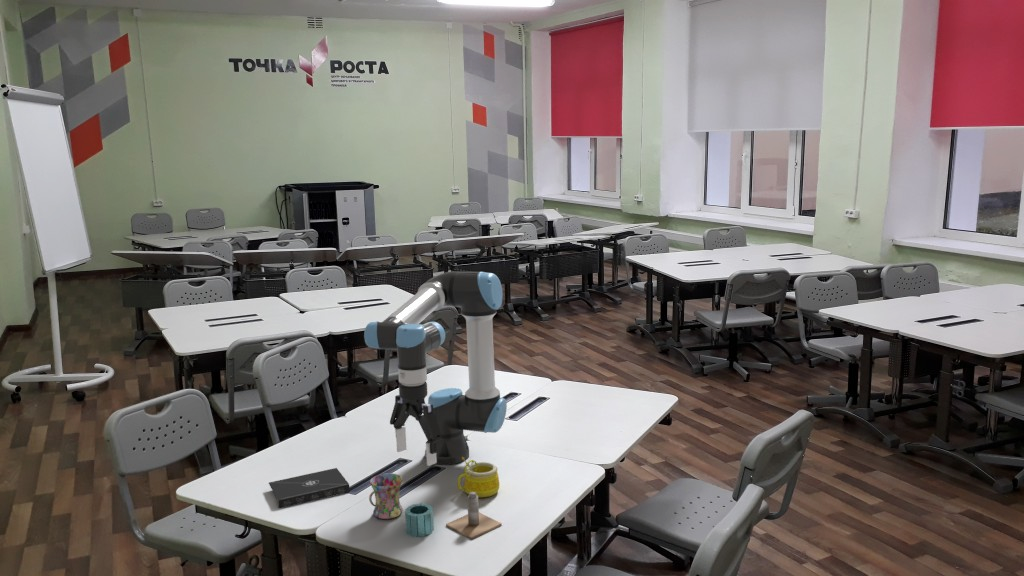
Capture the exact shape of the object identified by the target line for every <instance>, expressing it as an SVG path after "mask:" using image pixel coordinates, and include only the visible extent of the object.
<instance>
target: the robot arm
mask: <svg viewBox="0 0 1024 576" xmlns="http://www.w3.org/2000/svg"><path fill="white" fill-rule="evenodd" d="M503 294H504V293H503V287H502V283H501V280H500V279H499V277H498V276H497V275H496V274H495V273H492V272H485V271H456V270H455V271H452V270H451V271H446V272H443V273H440V274H437V275H436V276H434V277H431V278H429V279H427V281H425V282H423V284H422V285H420V286H419V287H418V290H417V292H416V293H415V294H414V295H413V296H411V297H410V298H409V299H407V301H406V302H404V303H403V304H402V305H401V306H400V307H398V308H396V310H394V312H392V313H391V314H390V315H389V316H387V318H385V319H383V321H370V322H368V324H366V327H364V333H363V334H364V335H363V338H364V343H365V345H366V346H367V347H369V348H371V349H378V350H396V353H397V354H396V355H397V369H398V370H397V371H398V373H397V374H398V382H399V384H398V393H399V394H397V395H395V396H394V397H395V399H394V406H393V410H392V413H391V417H390V421H389V424H390V425H393V427H394V431H395V432H394V433H395V439H396V452H397V453H401V452H403V451H406V450H408V449H407V433H406V424H405V423H407V421H408V419H409V417H410V416H411V417H412V418H414V419H415V421H417V422H418V423H419V425H420V427H421V430H422V432H423V433H424V435H425V438H426V440H427V441H425V451H424V458H425V460H426V466H428V467H429V466H432V465H434V464H436V465H454V464H458V463H462V462H465V461H466V460H467V459H468V458H469V457H470V448H469V445H468V441H467V439H466V437H465V434H464V431H469V432H470V431H472V432H479V433H480V432H481V433H485V434H487V433H492V434H493V433H494V434H495V433H497V432H499V431H500V430H501V429H502V427H503V425H504V422H505V419H506V415H507V406H508V403H507V400H506V399H505V398H503V397H501V392H500V390H499V388H497V387H496V381H495V380H496V378H495V375H496V372H495V355H494V354H495V352H494V327H493V324H494V323H493V318H494V316H495V315H496V314H497V312H498V311H497V310H498V309H500V308H501V306H502V304H503V298H504V296H503ZM446 307H447V308H448V307H450V308H460V314H461V316H463V317H464V319H465V323H466V324H465V325H466V343H467V344H466V345H467V347H466V348H467V363H468V364H467V366H468V389H467V390H466V391H465V392H464V394H463V390H462V388H461V389H460V388H457V387H450V388H444V389H439V390H437V391H434V392H433V393H431V394H430V395H429V396H428V382H427V380H428V373H427V372H428V371H427V358H426V357H427V355H428V354H429V353H431V352H433V351H434V350H438V348H439V347H440V346H441V345H442V344H444V342H445V340H446V331H445V329H444V327H443V326H442V325H441V324H440V323H439V322H436V321H428V322H425V323H424V324H421V322H423V321H424V320H425V319H426V318H427V317H429V315H430V314H432V313H433V312H434V311H436V312H437V311H439V310H440V309H442V308H446ZM427 396H428V398H427V403H426V401H425V398H426V397H427ZM462 457H464V460H465V461H464V460H462Z"/></svg>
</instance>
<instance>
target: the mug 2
mask: <svg viewBox="0 0 1024 576" xmlns="http://www.w3.org/2000/svg"><path fill="white" fill-rule="evenodd" d="M462 460H464V457H462ZM463 462H464V463H465V466H464V473H462V474H460V475H459V476H458V478H457V480H458V481H457V487H458V489H459V490H460V491H463V492H466V494H467V495H469V493H470V492H476V495H477V496H478V499H479V498H488V497H492V496H493V495H495V494H497V493H498V492H499V489H500V478H499V474H498V467H497V466H496V464H494V463H491V462H485V461H478V462H477V461H476V460H474V459H470V460H469V461H467V462H466V460H464V461H463ZM470 463H471V464H470ZM462 478H464V486H463V487H462V485H461V482H462V480H461V479H462Z"/></svg>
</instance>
